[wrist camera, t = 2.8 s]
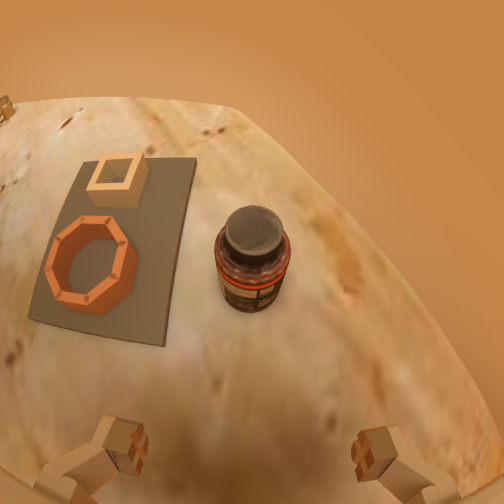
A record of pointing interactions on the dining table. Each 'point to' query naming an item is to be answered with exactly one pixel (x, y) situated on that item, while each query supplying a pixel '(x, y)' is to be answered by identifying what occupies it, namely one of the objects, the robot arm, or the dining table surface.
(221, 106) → the dining table surface
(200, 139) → the dining table surface
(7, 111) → the valve
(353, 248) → the dining table surface
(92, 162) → the socket board
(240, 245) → the supplement bottle
